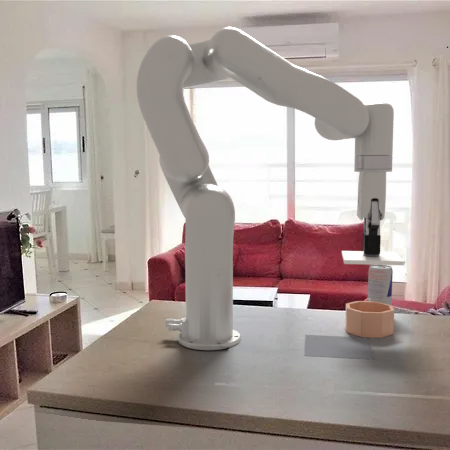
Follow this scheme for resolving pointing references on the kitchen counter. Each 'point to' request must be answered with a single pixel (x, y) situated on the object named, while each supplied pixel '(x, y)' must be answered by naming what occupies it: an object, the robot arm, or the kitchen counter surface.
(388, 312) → the bowl
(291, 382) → the kitchen counter surface
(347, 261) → the lid
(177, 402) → the kitchen counter surface
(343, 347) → the mat
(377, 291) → the energy drink
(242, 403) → the kitchen counter surface
